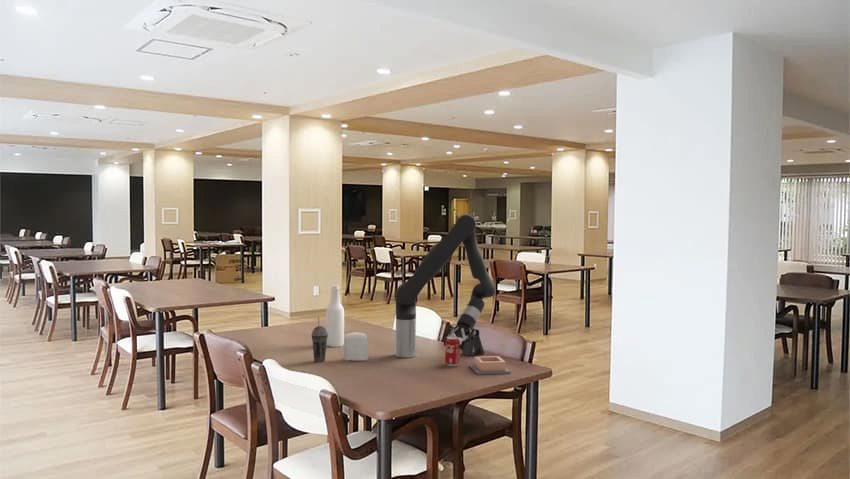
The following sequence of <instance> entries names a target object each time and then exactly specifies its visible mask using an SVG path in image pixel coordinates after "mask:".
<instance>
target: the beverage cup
mask: <svg viewBox="0 0 850 479" xmlns="http://www.w3.org/2000/svg"><path fill="white" fill-rule="evenodd" d="M317 322H318V324H317V326H316V327H314V328H313V329H312V331H311V340H312V348H313V349H312V352H313V353H312V354H313V360H314V363H317V364H318V363H319V364H321V363H325V362H326V361H325V360H326V353H327V352H326V351H327V345H326V343H327V337H328V333H327V330H326V327H324V326H321V325H320V316H317Z"/></svg>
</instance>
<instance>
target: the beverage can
mask: <svg viewBox="0 0 850 479" xmlns="http://www.w3.org/2000/svg"><path fill="white" fill-rule="evenodd" d="M445 340H446V341H445ZM445 340H444V342H445V346H444V351H445V352H444V355H445V357H444V362H445V363H444V364H446V366H447V367H457V366H458V365H460V362H461V359H460V358H461V356H460V354H461V350H460V349H459V346H460V344H461V341H460V339H459V338H458V337H452V336H451V337H447V339H446V338H445Z"/></svg>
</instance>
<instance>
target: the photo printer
mask: <svg viewBox="0 0 850 479" xmlns="http://www.w3.org/2000/svg"><path fill="white" fill-rule="evenodd" d="M368 351H369V350H368V336H367V334H366V333H363V332H355V331H354V332H349V333H346V334H344V360H345V361H346V362H347V361H350V360H351V361H353V362H354V361H361V362H362V361H363V362H364V361H368V357H369V356H368V353H369V352H368ZM351 361H350V362H351Z"/></svg>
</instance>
